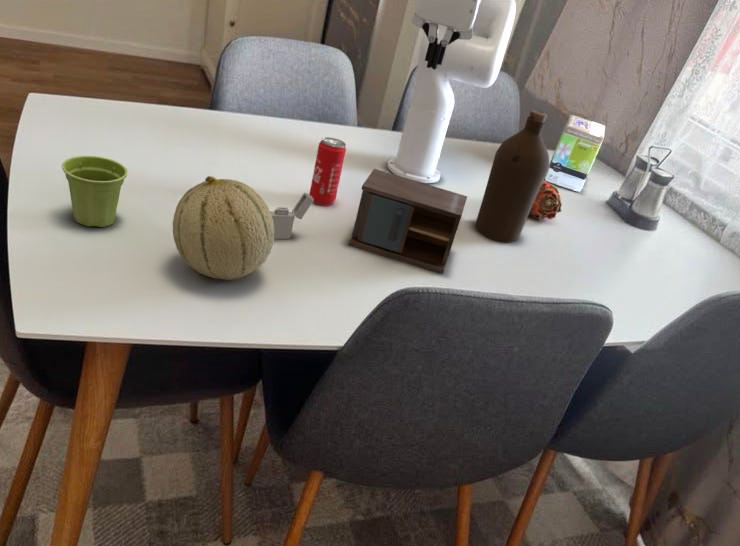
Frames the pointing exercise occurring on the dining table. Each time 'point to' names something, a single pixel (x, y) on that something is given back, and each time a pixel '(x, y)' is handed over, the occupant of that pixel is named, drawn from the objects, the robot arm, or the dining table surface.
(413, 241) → the cabinet
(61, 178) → the dining table surface
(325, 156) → the beverage can
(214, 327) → the dining table surface
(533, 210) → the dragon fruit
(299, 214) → the lighter
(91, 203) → the plant pot
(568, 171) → the tea box
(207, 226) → the cantaloupe
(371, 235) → the tinted door with handle
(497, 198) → the olive oil
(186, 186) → the dining table surface
